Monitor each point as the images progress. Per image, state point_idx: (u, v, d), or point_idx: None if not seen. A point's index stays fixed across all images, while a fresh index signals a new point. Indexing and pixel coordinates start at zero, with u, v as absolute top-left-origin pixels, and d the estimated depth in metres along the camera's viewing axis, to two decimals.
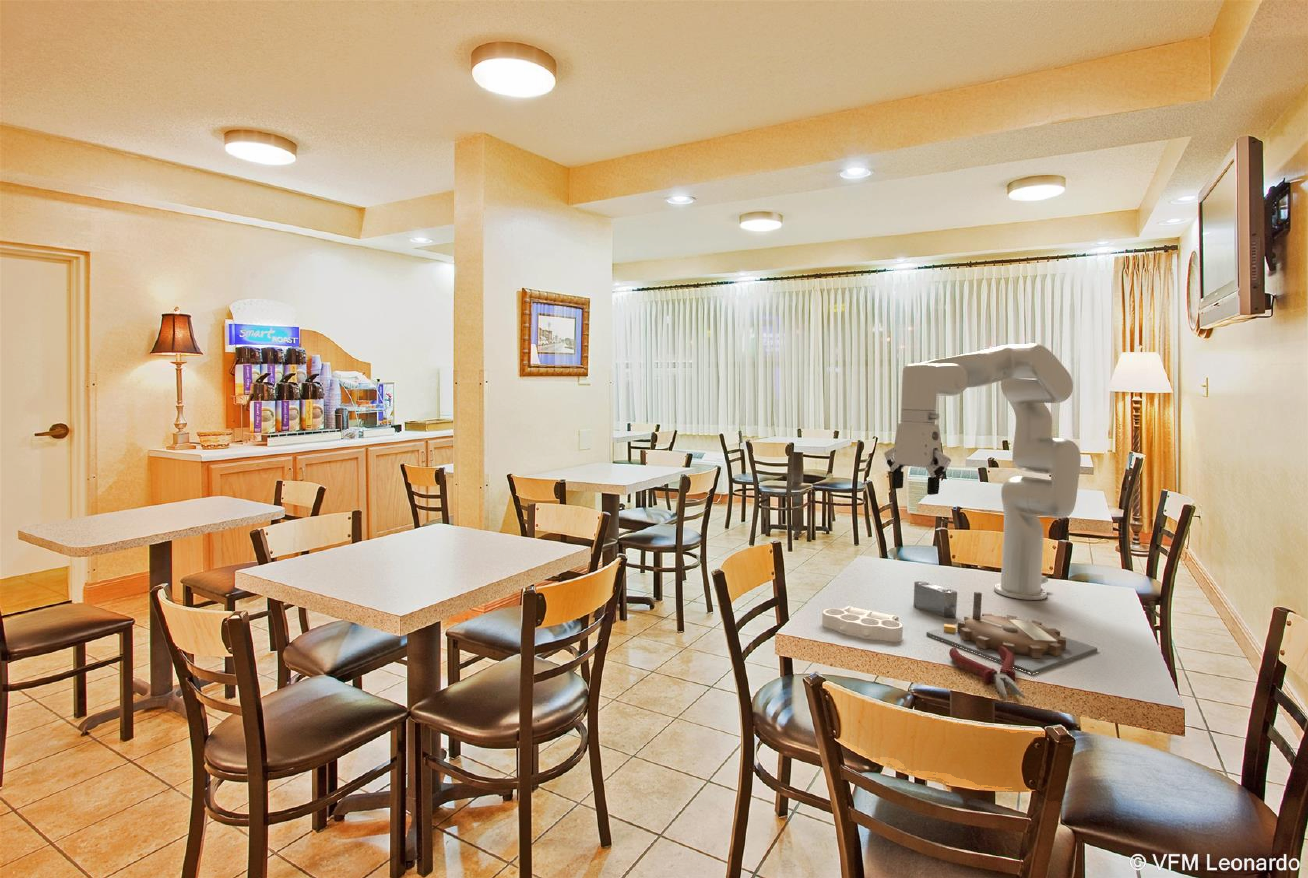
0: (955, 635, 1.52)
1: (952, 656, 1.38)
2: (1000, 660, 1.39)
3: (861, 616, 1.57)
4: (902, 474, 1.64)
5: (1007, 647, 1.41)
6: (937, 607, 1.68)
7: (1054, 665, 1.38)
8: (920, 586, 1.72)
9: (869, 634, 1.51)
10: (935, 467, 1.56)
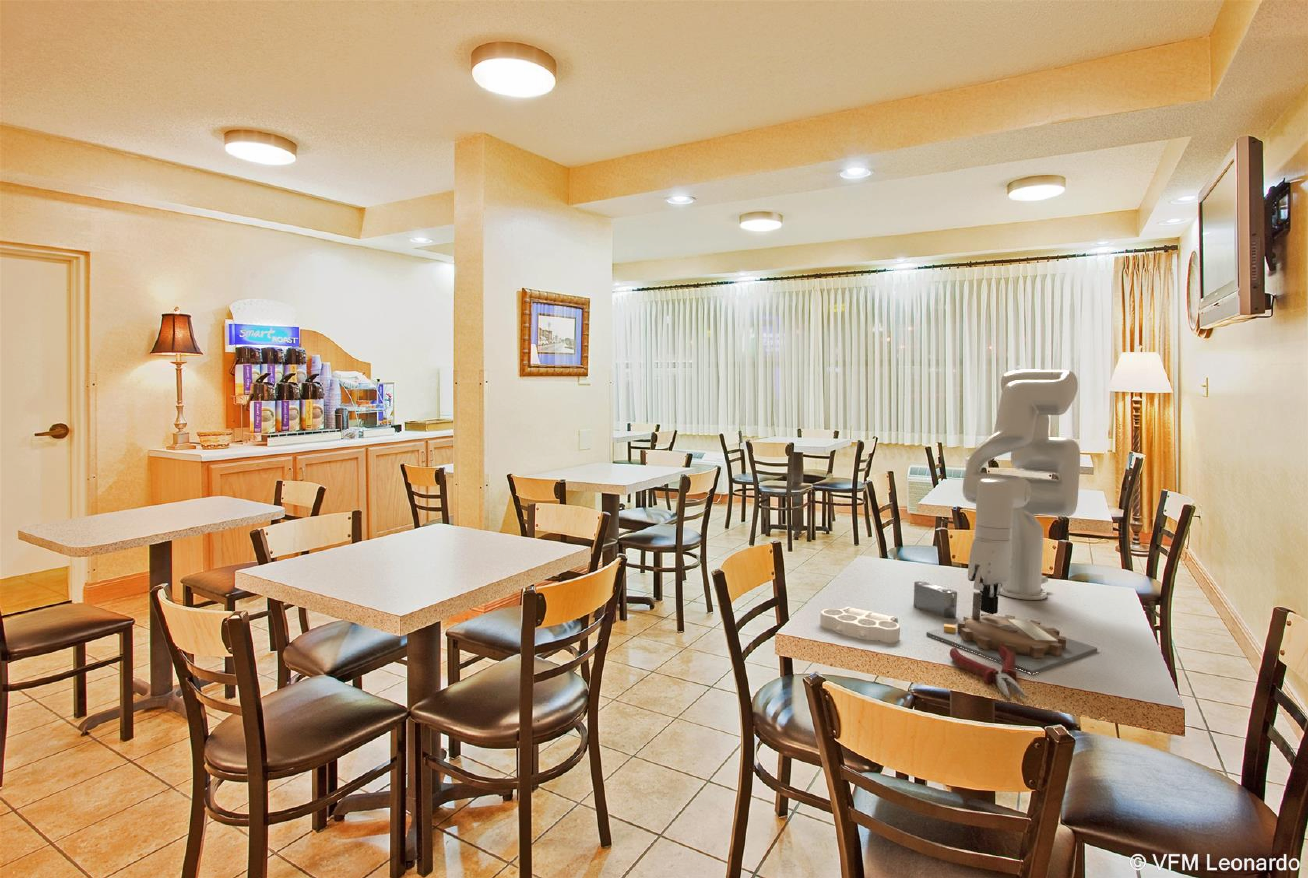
0: (955, 635, 1.52)
1: (953, 656, 1.38)
2: (1000, 660, 1.39)
3: (859, 617, 1.57)
4: None
5: (1008, 647, 1.41)
6: (937, 607, 1.68)
7: (1054, 665, 1.38)
8: (920, 586, 1.72)
9: (865, 635, 1.51)
10: None
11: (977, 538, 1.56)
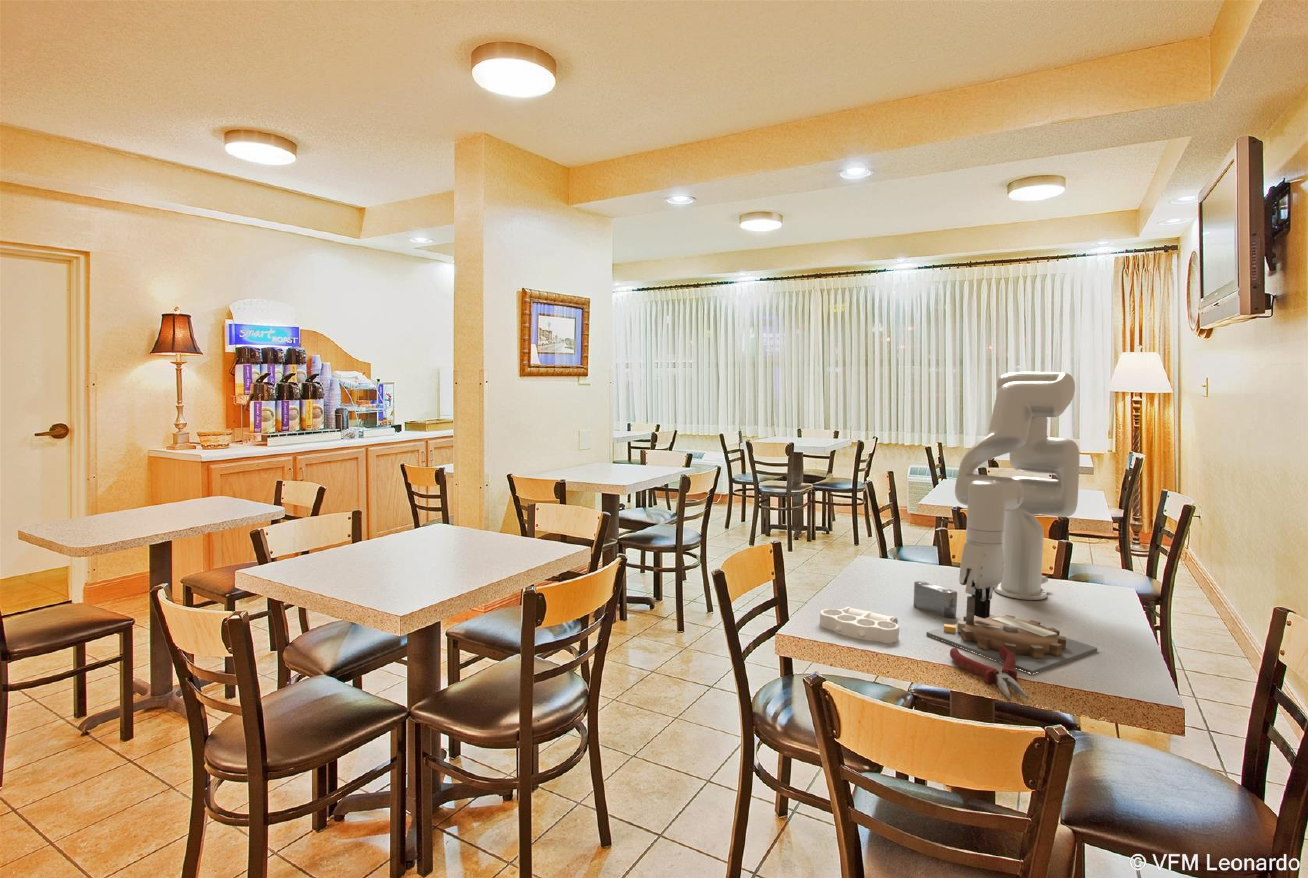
0: (955, 635, 1.52)
1: (953, 656, 1.38)
2: (1000, 660, 1.39)
3: (858, 617, 1.57)
4: None
5: (1037, 650, 1.39)
6: (937, 607, 1.68)
7: (1054, 665, 1.38)
8: (920, 586, 1.72)
9: (864, 635, 1.51)
10: None
11: (969, 541, 1.53)
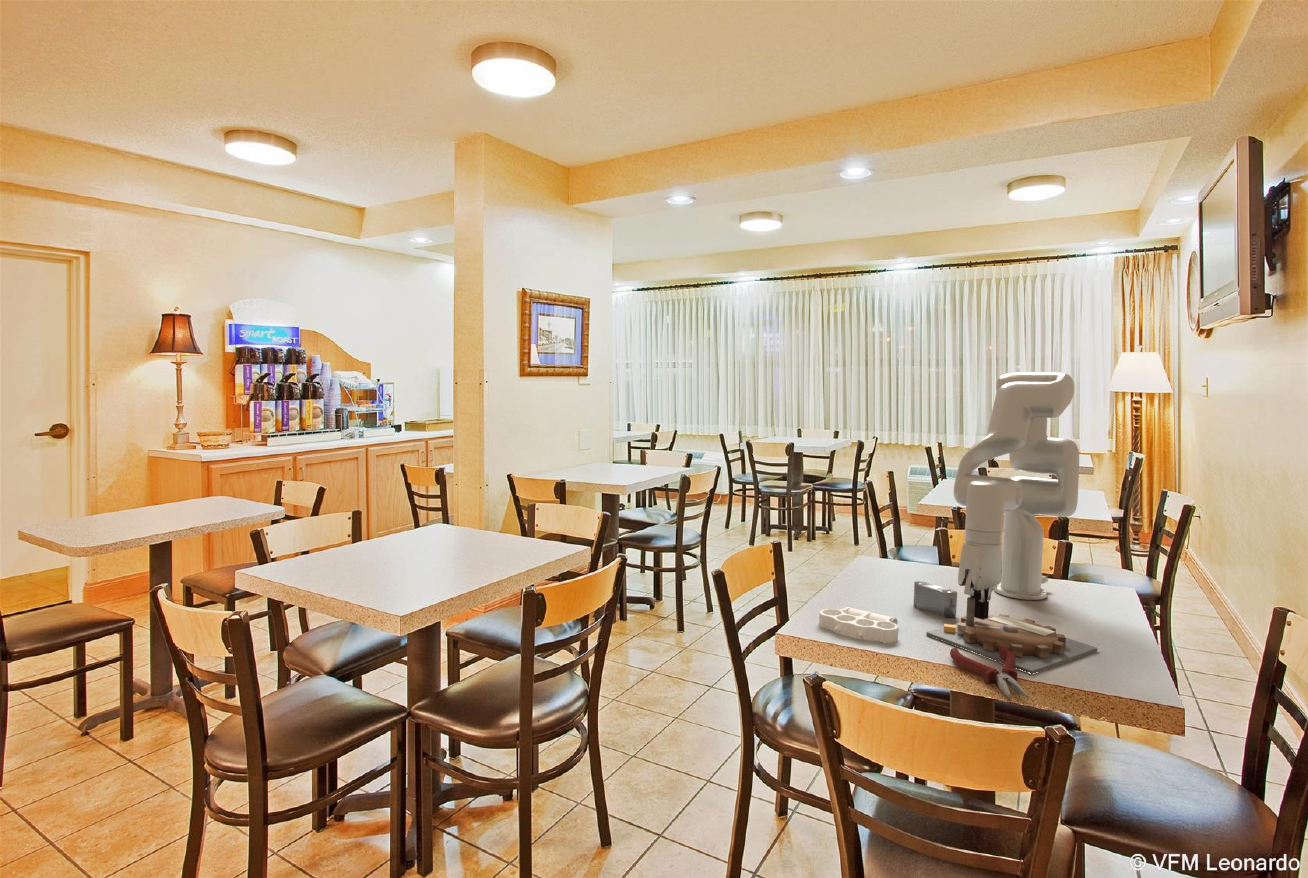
0: (955, 635, 1.52)
1: (953, 656, 1.38)
2: (1000, 660, 1.39)
3: (858, 617, 1.57)
4: None
5: (1043, 650, 1.40)
6: (937, 607, 1.68)
7: (1054, 665, 1.38)
8: (920, 586, 1.72)
9: (863, 635, 1.51)
10: None
11: (967, 542, 1.52)
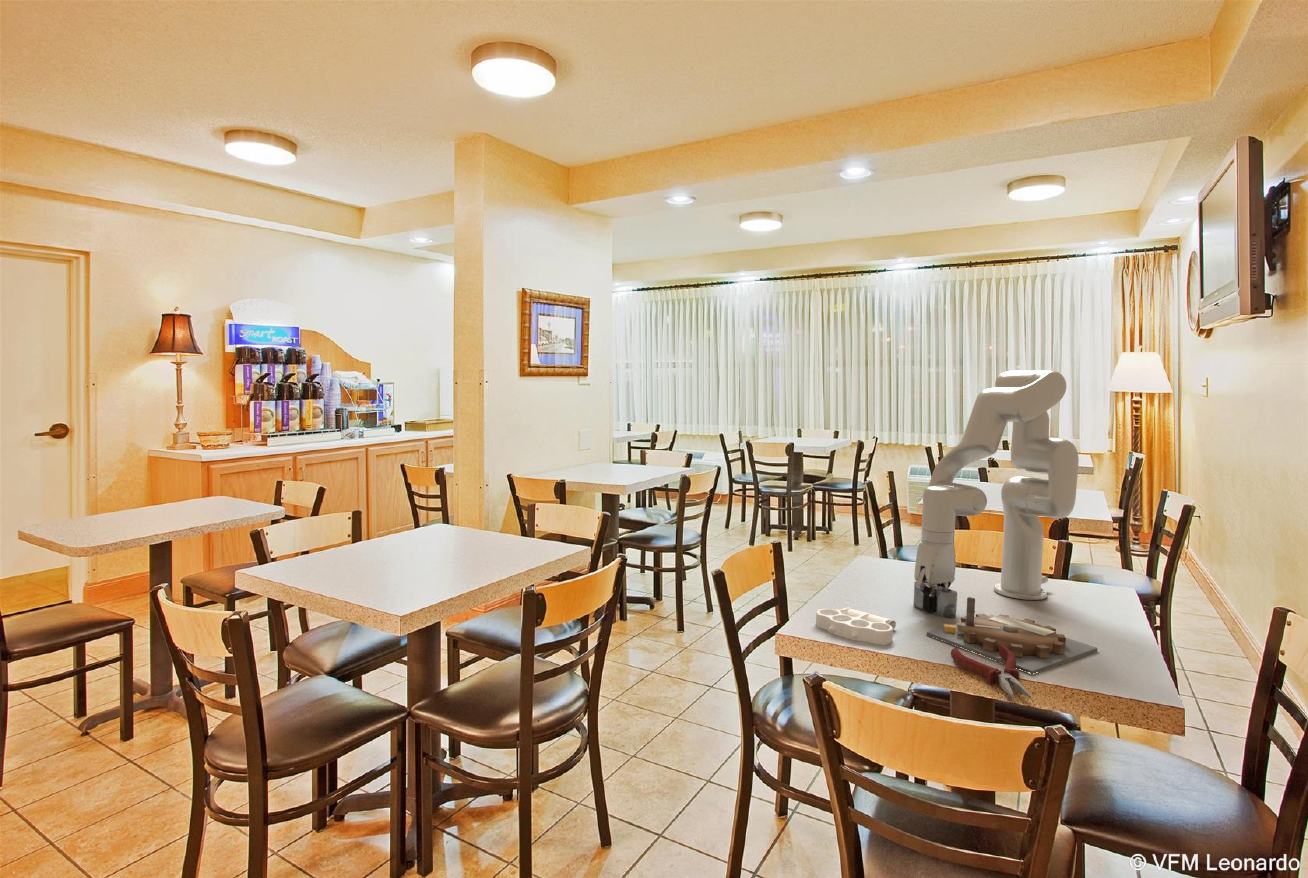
0: (955, 635, 1.52)
1: (954, 656, 1.38)
2: (1000, 660, 1.39)
3: (854, 617, 1.56)
4: None
5: (1044, 650, 1.40)
6: (937, 607, 1.68)
7: (1054, 665, 1.38)
8: None
9: (856, 635, 1.50)
10: (939, 582, 1.72)
11: (923, 541, 1.69)
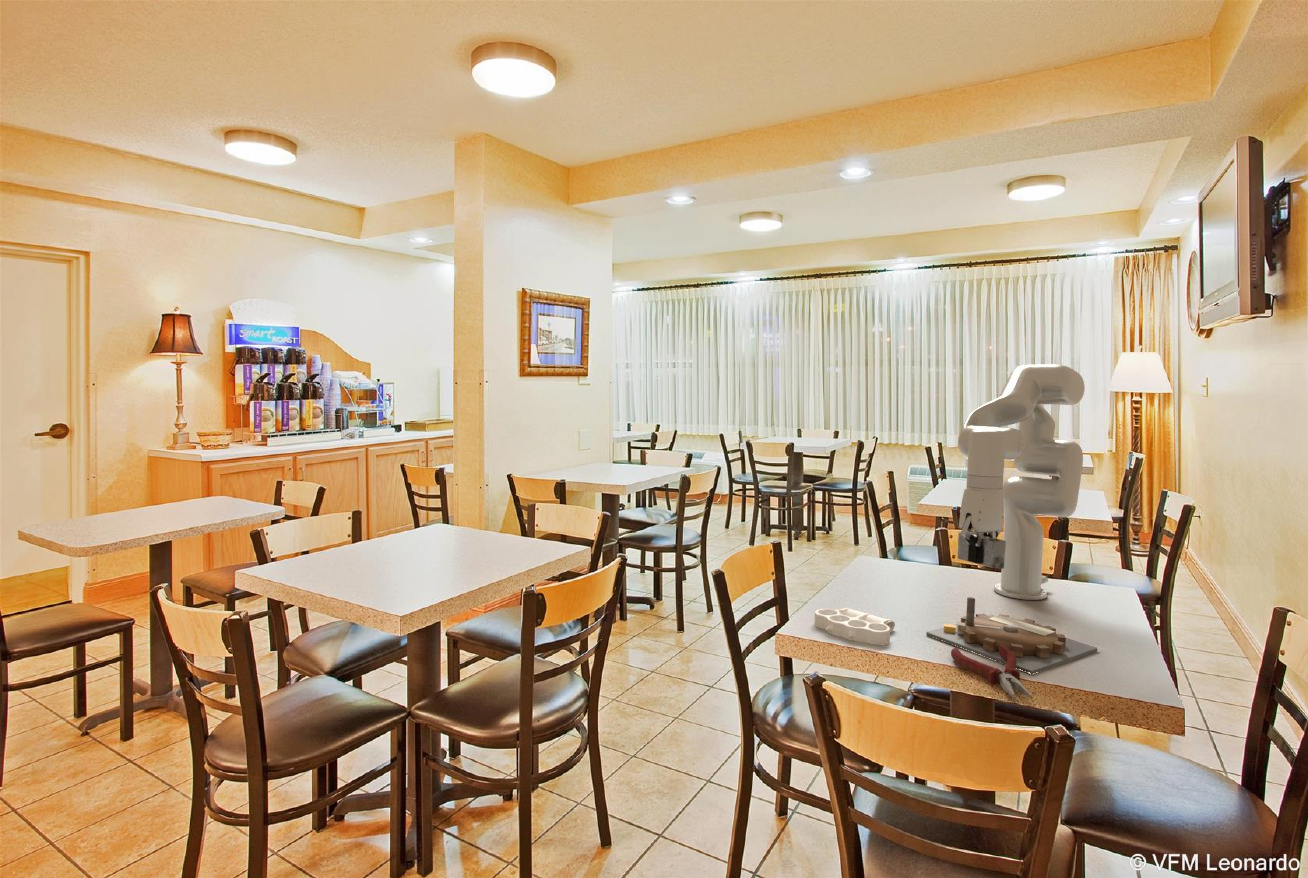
0: (955, 635, 1.52)
1: (954, 657, 1.38)
2: (1000, 660, 1.39)
3: (852, 618, 1.56)
4: None
5: (1044, 650, 1.40)
6: (984, 557, 1.57)
7: (1054, 665, 1.38)
8: None
9: (853, 636, 1.50)
10: (986, 532, 1.61)
11: (968, 487, 1.58)
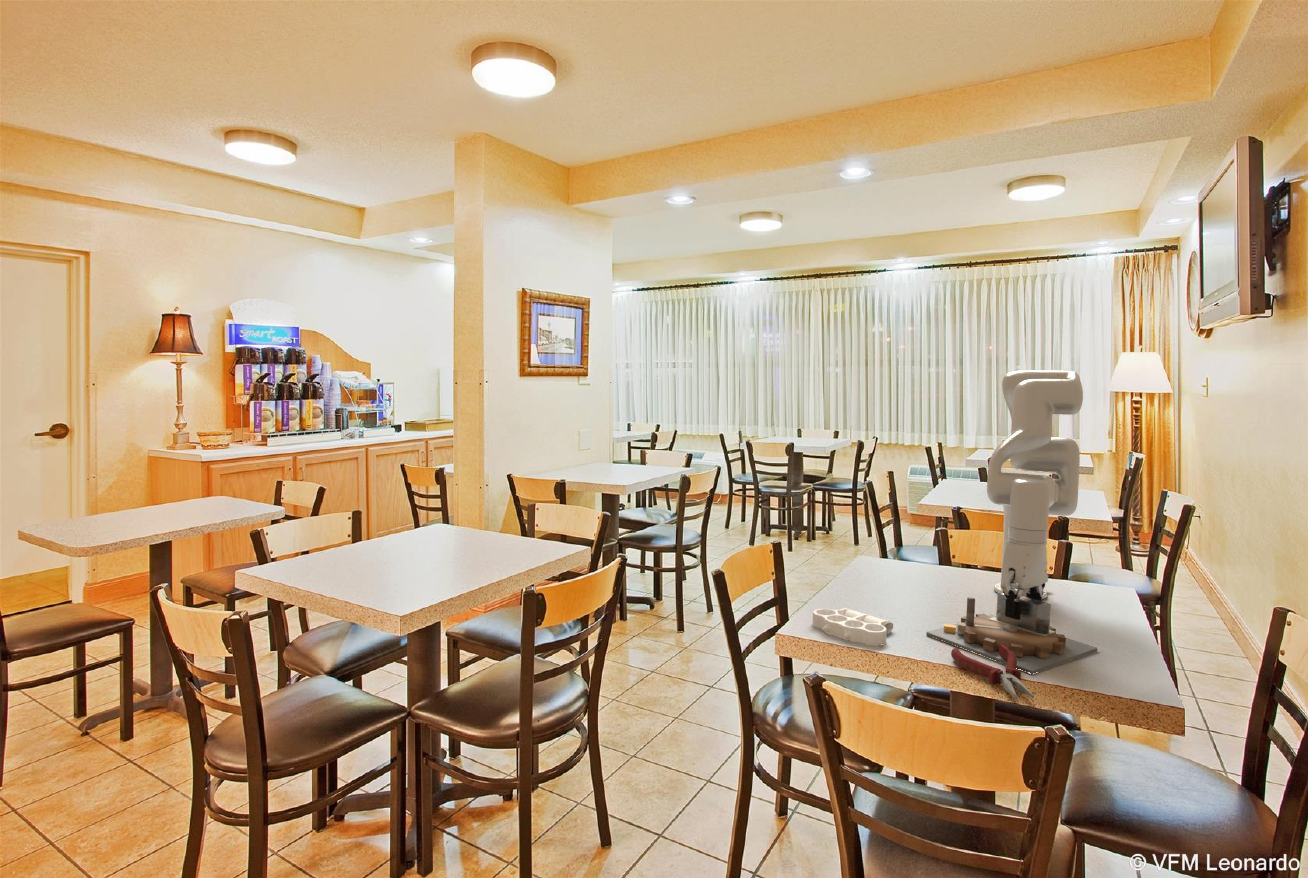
0: (955, 635, 1.52)
1: (955, 657, 1.38)
2: (1000, 660, 1.39)
3: (849, 618, 1.56)
4: None
5: (1044, 650, 1.40)
6: (1027, 621, 1.49)
7: (1054, 665, 1.38)
8: None
9: (849, 636, 1.50)
10: None
11: (1011, 540, 1.50)
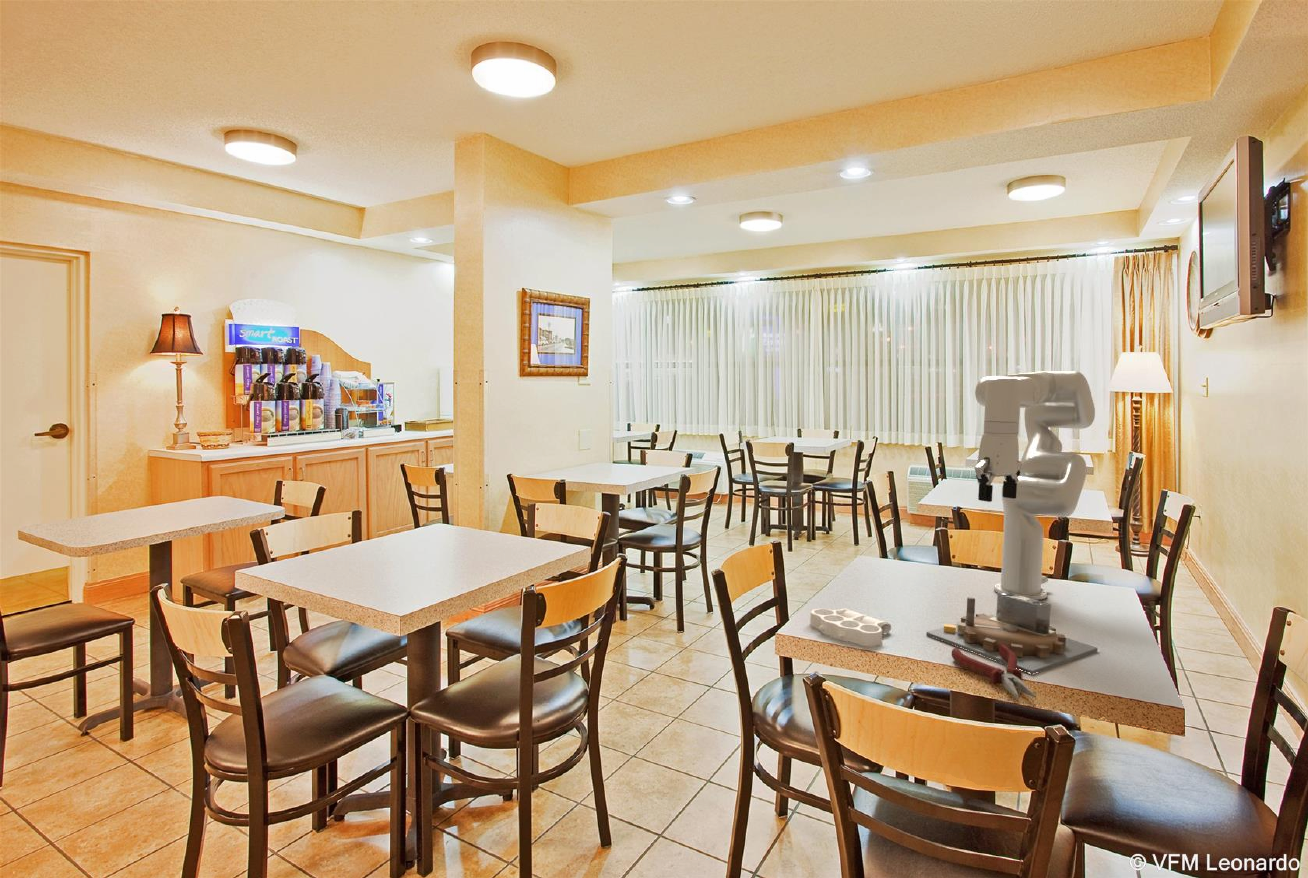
0: (955, 635, 1.52)
1: (955, 657, 1.38)
2: (1000, 660, 1.39)
3: (846, 618, 1.56)
4: None
5: (1044, 650, 1.40)
6: (1027, 621, 1.49)
7: (1054, 665, 1.38)
8: (1005, 597, 1.53)
9: (843, 636, 1.50)
10: None
11: (986, 433, 1.65)
